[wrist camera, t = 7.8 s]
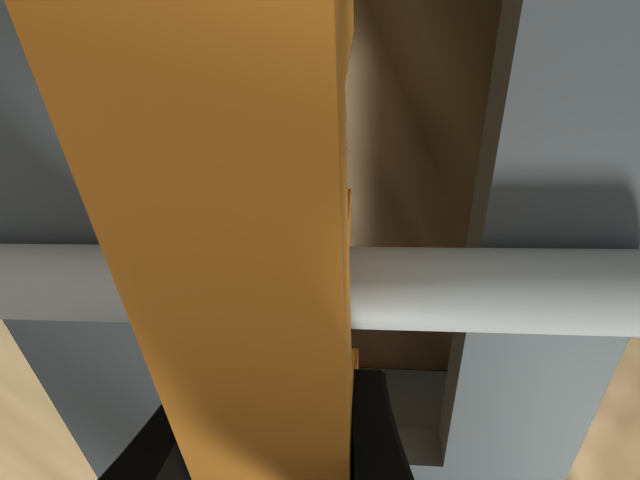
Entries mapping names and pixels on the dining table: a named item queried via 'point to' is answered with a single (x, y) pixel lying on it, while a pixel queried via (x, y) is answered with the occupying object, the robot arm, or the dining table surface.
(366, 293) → the grey frame
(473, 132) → the dining table surface
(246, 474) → the notched orange plank
